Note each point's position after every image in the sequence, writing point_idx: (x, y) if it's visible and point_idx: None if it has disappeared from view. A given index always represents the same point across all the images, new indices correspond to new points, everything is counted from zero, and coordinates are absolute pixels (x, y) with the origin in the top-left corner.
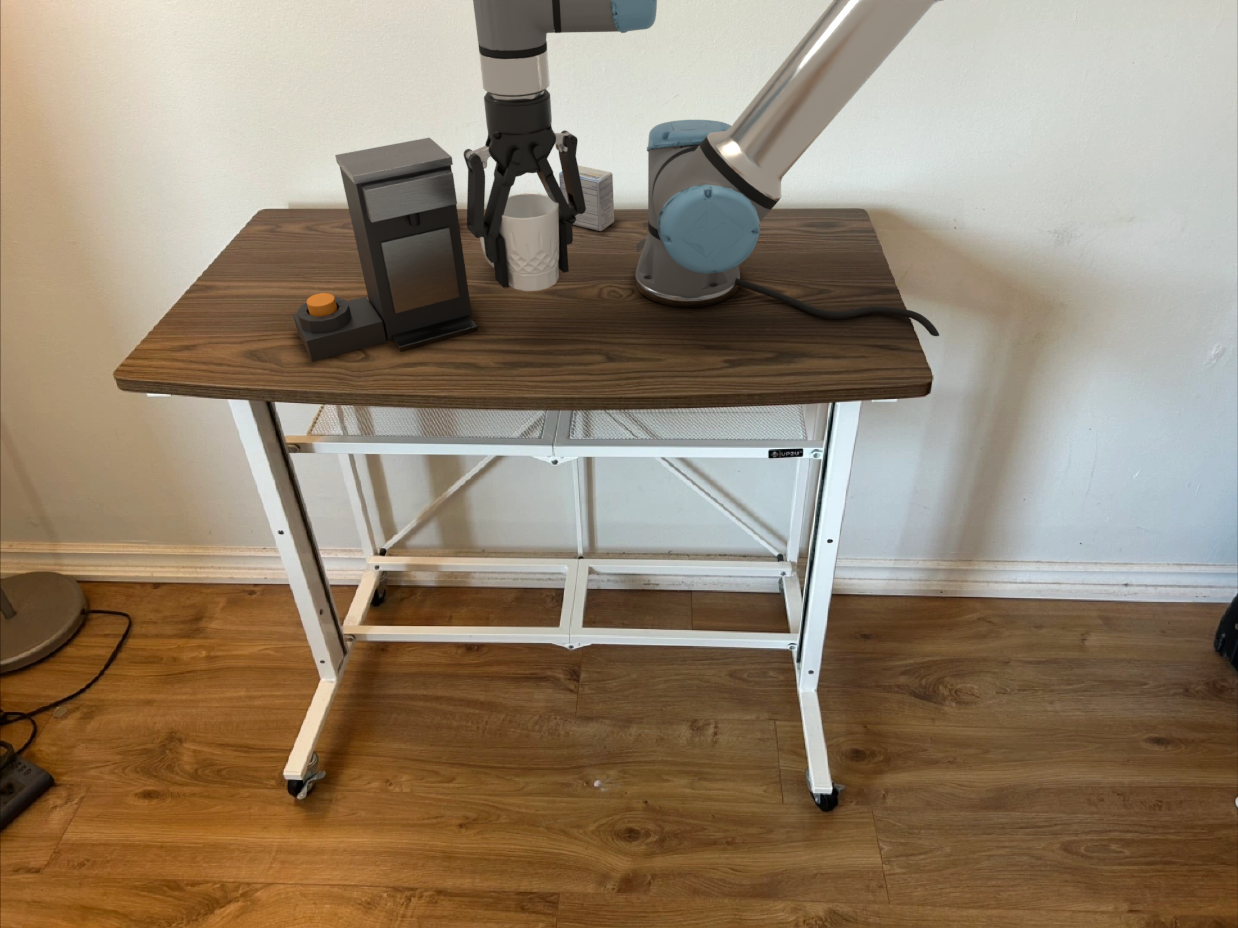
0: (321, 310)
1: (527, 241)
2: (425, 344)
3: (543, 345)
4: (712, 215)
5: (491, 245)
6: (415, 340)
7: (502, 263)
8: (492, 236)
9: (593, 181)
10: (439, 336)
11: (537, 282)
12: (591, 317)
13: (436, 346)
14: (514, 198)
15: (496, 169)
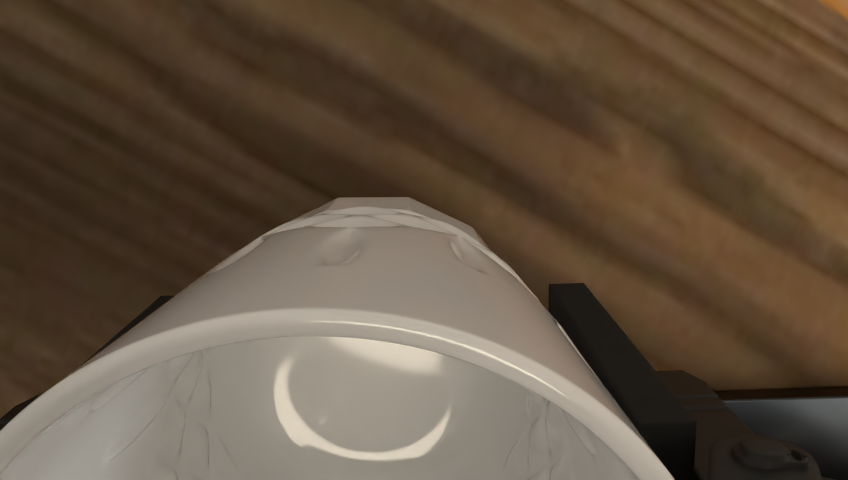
0: None
1: (467, 271)
2: (785, 390)
3: (393, 178)
4: None
5: (724, 433)
6: (826, 410)
7: (614, 337)
8: (772, 441)
9: None
10: (736, 398)
11: (401, 203)
12: (135, 287)
13: (752, 364)
14: None
15: None
